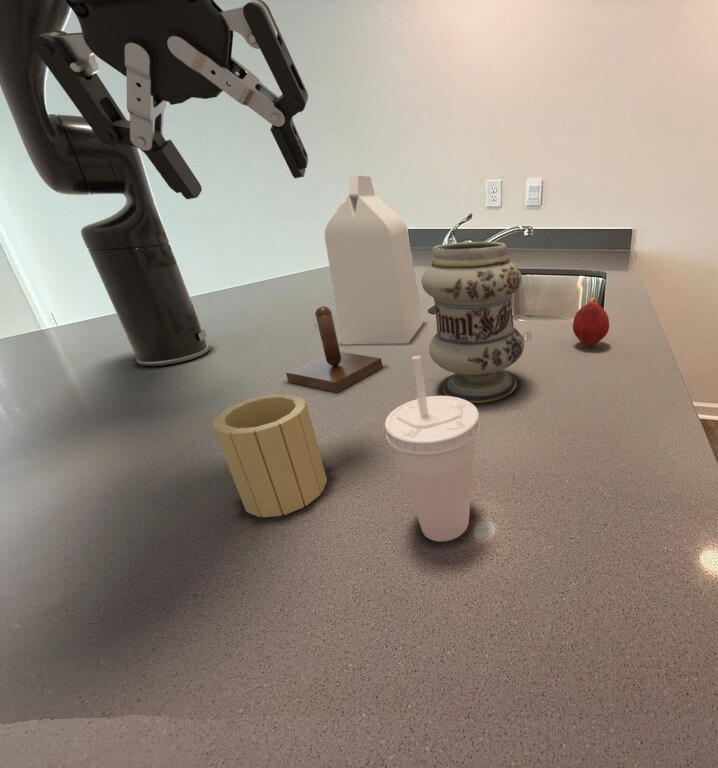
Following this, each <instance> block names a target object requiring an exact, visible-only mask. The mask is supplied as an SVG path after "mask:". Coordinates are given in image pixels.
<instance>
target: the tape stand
mask: <svg viewBox="0 0 718 768" xmlns="http://www.w3.org/2000/svg"><path fill="white" fill-rule="evenodd" d="M314 315H315V318H316V319H315V320H316V324H317V328H318V331H319V335H320V340H321V345H322V348H323V353H324V355H323V356H320V357H318V358H315V359H314V360H311V361H309V362H307V363H304V364H301V365H299V366H297V367H295V368H293V369H291V370H288V371H286V372H285V374H286V378H287V382H288V383H290V384H295V385H299V386H305V387H309V388H314V389H319V390H324V391H327V392H332V393H333V392H334V393H340V392H342V391H343V390H345V389H347V388H348V387H350V386H352V385H354V384H356V383H358V382H359V381H361V380H363V379H365V378H367V377H369V376H370V375H371V374H374V373H376V372H377V371H379V370H381V369H382V368H384V367H383V360H382V358H381V357H375V356H369V355H362V354H356V353H352V352H345V351H341V350H340V345H339V341H338V336H337V332H336V327H335V323H334V317H333V313H332V310H331V309H330V308H329V307H328V306H325V305H322V306H318V307H317V308H316V309H315V313H314Z"/></svg>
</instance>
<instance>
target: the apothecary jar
mask: <svg viewBox="0 0 718 768" xmlns="http://www.w3.org/2000/svg"><path fill="white" fill-rule="evenodd" d="M507 248H508V247H507V245H506V243H504V242H499V241H498V242H497V241H466V242H465V241H464V242H453V243H444V244H438V245H435V246H433V247H432V258H431V265H429V266H428V267H427V268H426V269H425V270H424V271H423V274H422V276H421V287H422V289H423V290H424V292H425V293H426V294H427V295H428V296H430V297H431V298H433V301H434V310H435V311H434V312H435V320H436V333H435V335H434V336H433V337H432V338H431V340H430V342H429V345H428V353H429V356H430V358H431V360H432V361H433V362H434V363H435V364H436V365H437V366H439V367H440V368H442V369H443V370H445V371H448V372H449V373H453V374H451V375H449V376H447V378H445V380H444V381H443V383H442V387H441V388H442V392H443V394H444V396H452V397H457V398H461V399H464V400H466V401H468V402H470V403H472V404H483V403H488V402H490V403H491V402H495V401H499V400H501V399H503V398H506V397H508V396H509V395H511V394H512V393H513V392H514V391H515V390H516V388H517V378H515V376H514V375H513V374H511V373H510V372H508V371H506V370H505V369H507V368H509V367H511V366H512V365H513V364H515V363H516V362H517V361H518V360H519V359H520V358H521V356H522V355H523V353H524V350H525V341H524V337H523V336H522V334H521V332H520V331H519V330H518V329H517V328H515V325H514V316H513V315H514V314H513V295H514V293H515V292H517V291H518V290H519V289H520V288H521V285H522V280H523V277H522V272H521V271H520V269H519V267H518V266H517V265H516V264H515V263H513V262H512V261H510V257H509V255H508V249H507Z"/></svg>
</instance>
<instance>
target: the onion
mask: <svg viewBox="0 0 718 768" xmlns="http://www.w3.org/2000/svg"><path fill="white" fill-rule="evenodd" d="M597 301H598V300H597V299H596V298H595V297H591V298H589V300H588V302H587V303H586V304H585V305H583V306H582V307H580V308H579V309H578V311H576V314H575V315H574V318H573V321H572V330H573V331H572V332H573V334H574V336H575V337H576V338H577V339H578V341H579V342H581V343H582V344H583V345H585V346H586V347H593V346H595V345H597V344H598V343H599V342H601V340H603V339H605V338H606V336H607V334H608V333H609V330H610V320H609V316H608V313H607V312H606V310H605V309H604V308H603V307H602V306H600V304H598V303H597Z"/></svg>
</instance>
